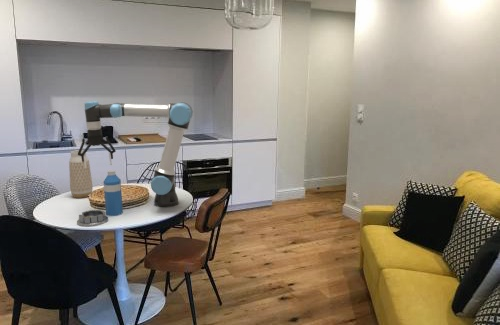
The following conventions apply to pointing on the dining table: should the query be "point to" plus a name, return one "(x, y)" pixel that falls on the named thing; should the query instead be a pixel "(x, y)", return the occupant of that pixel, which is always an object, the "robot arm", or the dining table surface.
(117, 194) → the water bottle
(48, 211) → the dining table surface
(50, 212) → the dining table surface
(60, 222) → the dining table surface
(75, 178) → the vase
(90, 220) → the grey gear
